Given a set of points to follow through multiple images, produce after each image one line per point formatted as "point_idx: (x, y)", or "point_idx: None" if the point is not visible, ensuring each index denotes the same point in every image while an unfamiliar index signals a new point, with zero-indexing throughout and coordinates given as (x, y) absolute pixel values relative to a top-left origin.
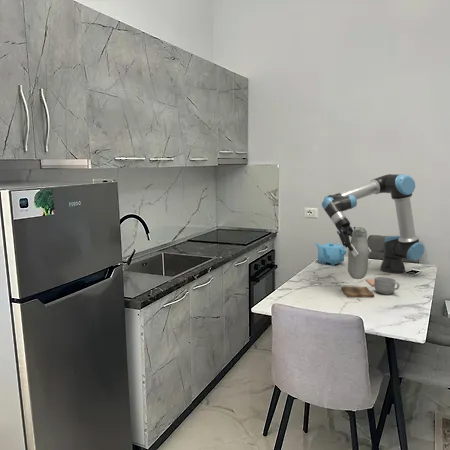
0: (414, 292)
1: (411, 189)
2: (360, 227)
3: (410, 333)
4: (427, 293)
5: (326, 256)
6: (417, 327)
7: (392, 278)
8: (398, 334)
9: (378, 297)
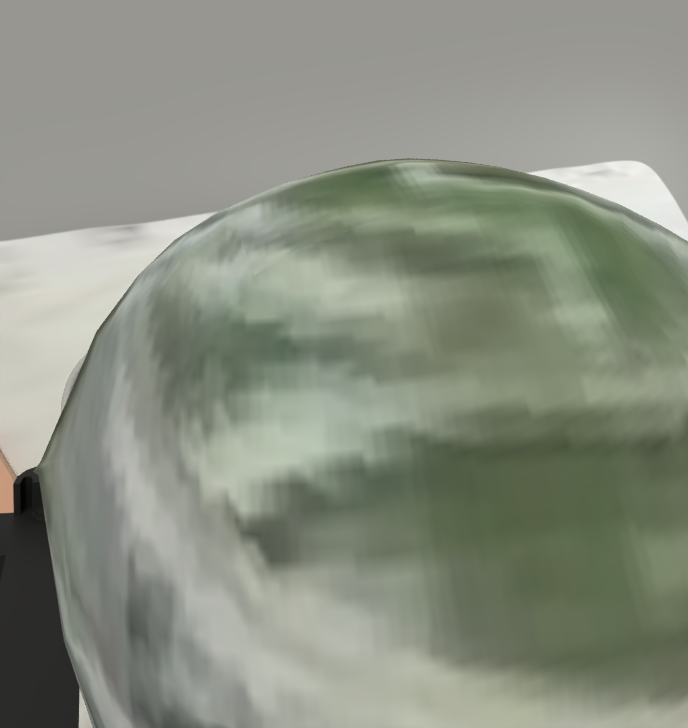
0: (65, 293)
1: None
2: (480, 331)
3: (634, 188)
4: (47, 238)
5: None
6: (563, 183)
7: (83, 361)
8: (678, 213)
9: None
